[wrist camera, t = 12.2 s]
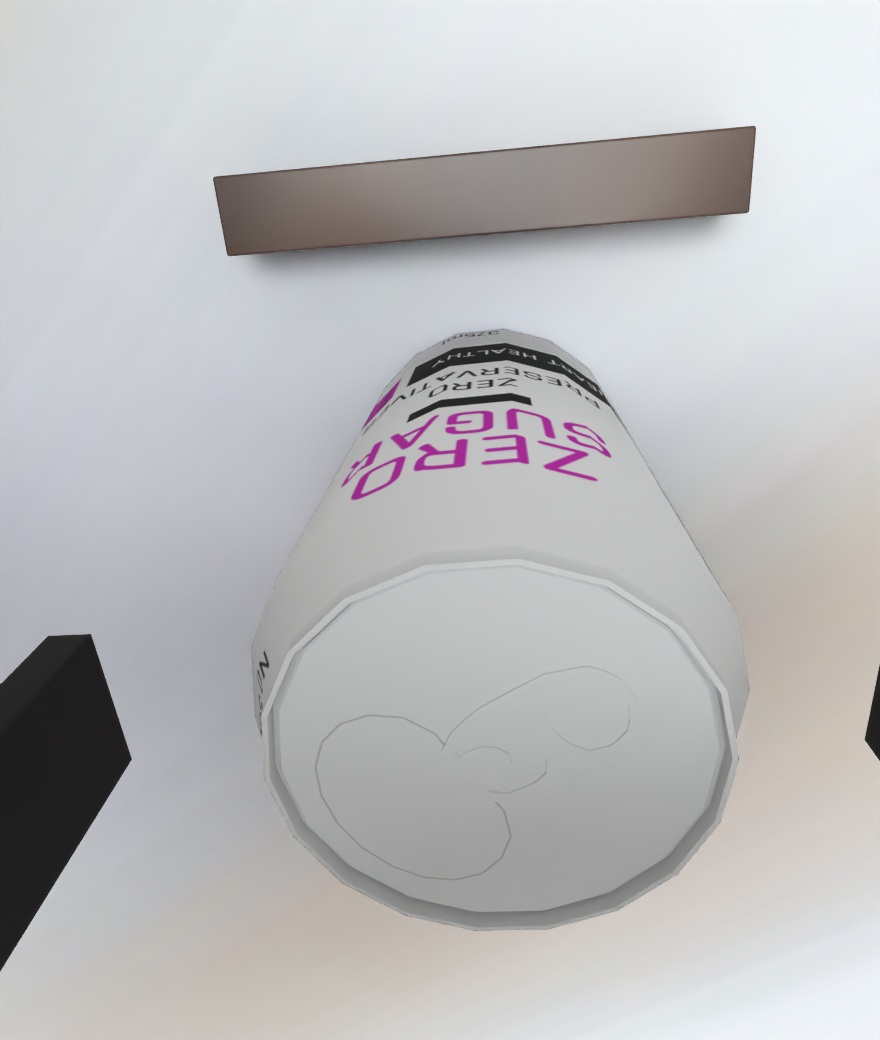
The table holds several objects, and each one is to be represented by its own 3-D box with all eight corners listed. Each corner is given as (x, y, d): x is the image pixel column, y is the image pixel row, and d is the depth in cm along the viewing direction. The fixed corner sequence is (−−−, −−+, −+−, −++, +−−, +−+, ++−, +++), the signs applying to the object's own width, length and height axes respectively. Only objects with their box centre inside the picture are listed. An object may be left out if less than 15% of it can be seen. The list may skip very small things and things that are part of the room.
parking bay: (326, 668, 28) (311, 709, 26) (241, 179, 21) (211, 176, 19) (690, 657, 27) (708, 699, 25) (726, 134, 20) (757, 125, 18)
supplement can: (465, 597, 27) (439, 1014, 13) (322, 421, 24) (105, 704, 11) (661, 478, 24) (879, 834, 11) (524, 270, 22) (579, 385, 8)
